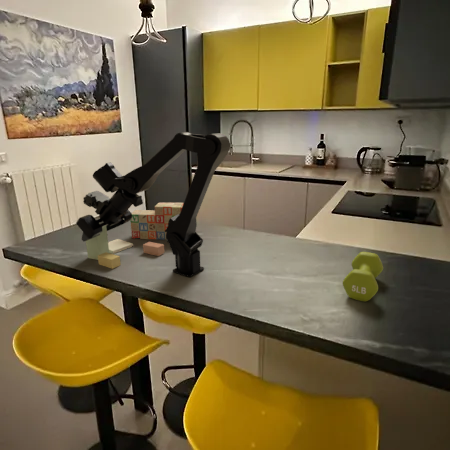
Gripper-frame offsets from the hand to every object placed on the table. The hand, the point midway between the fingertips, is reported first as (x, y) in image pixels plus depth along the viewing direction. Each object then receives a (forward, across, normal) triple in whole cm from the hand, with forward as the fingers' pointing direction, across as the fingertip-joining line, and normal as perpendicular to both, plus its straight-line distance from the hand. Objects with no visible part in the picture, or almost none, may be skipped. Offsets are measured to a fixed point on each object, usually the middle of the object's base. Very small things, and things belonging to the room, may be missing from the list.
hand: (92, 235), depth 104 cm
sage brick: (+4, 0, +6) cm, 7 cm away
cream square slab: (+4, -8, +6) cm, 11 cm away
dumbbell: (-51, -6, +60) cm, 79 cm away
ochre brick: (-1, +4, +11) cm, 12 cm away
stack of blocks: (-3, -23, +13) cm, 27 cm away
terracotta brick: (-6, -8, +16) cm, 19 cm away
